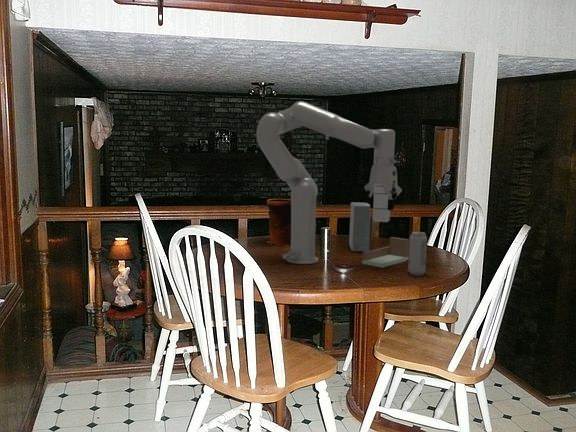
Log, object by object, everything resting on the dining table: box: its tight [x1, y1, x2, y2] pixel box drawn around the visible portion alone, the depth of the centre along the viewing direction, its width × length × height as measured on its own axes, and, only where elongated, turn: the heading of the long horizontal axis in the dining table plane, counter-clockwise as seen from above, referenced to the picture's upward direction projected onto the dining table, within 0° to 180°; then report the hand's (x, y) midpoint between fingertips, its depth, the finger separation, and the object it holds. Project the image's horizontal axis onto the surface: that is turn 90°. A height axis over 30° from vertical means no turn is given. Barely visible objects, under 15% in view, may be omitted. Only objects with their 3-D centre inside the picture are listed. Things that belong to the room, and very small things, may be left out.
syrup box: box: [372, 183, 391, 223], centre depth 210 cm, size 6×6×14 cm
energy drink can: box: [407, 231, 428, 276], centre depth 198 cm, size 6×6×15 cm
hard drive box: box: [348, 201, 372, 252], centre depth 243 cm, size 16×8×20 cm, turn 179°
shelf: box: [361, 236, 410, 268], centre depth 217 cm, size 19×9×8 cm, turn 137°
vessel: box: [266, 198, 291, 246], centre depth 253 cm, size 14×14×20 cm
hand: (381, 208), depth 210 cm, fingers closed on syrup box, 7 cm apart
